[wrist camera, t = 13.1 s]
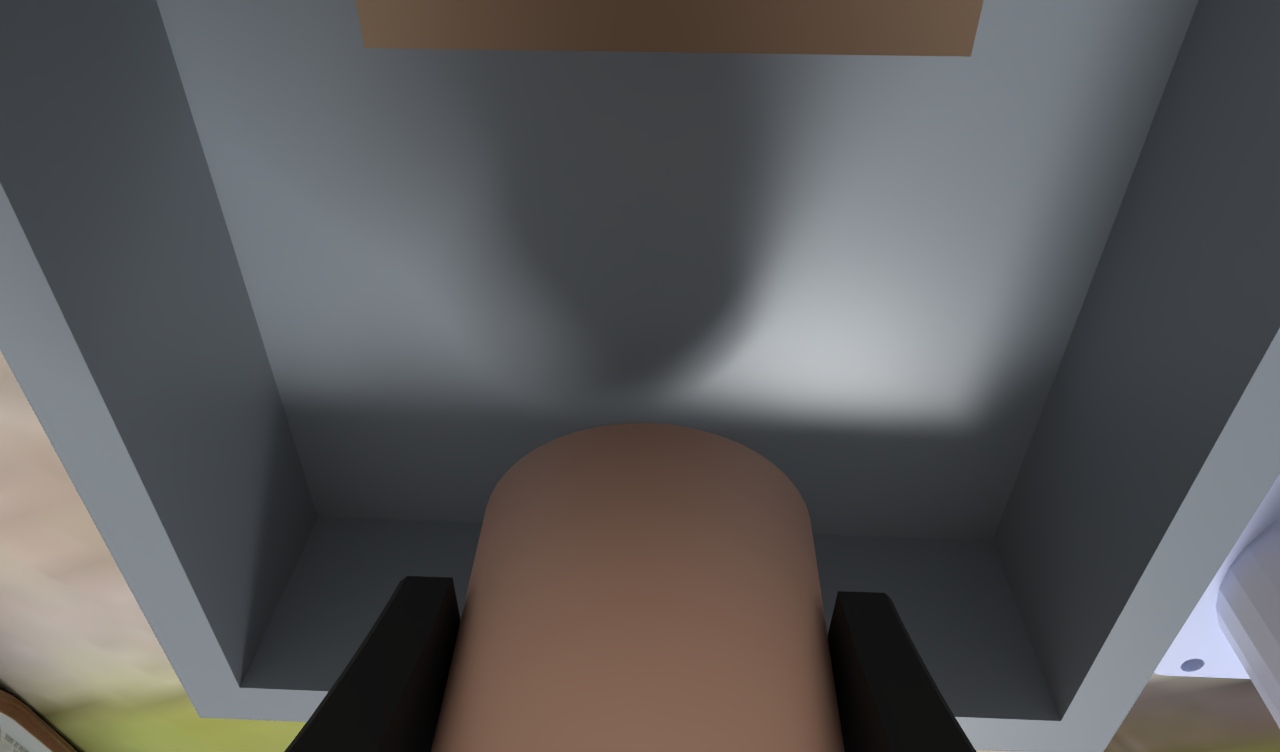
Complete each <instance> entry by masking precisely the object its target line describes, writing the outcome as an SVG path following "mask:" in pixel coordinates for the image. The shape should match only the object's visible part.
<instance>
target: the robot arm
mask: <svg viewBox="0 0 1280 752" xmlns="http://www.w3.org/2000/svg"><path fill="white" fill-rule="evenodd" d="M460 621H461V619H460V614H459V609H458V603H457V598H456V593H455V587H454V582H453V577H424V576H407V577H405V578H404V579H403V580H401V581H400V582H399V584H398V586H397V587H396V589H395V591H394V593H393V594H392V596H391V598H390V599H389V601H388V603H387V604H386V606H385V607H384V609H383V611H382V612H381V614H380V616H379V617H378V619H377V620H376V622H375V623H374V625H373V627H372V628H371V630H370V631H369V633H368V634H367V636H366V638H365V639H364V641H363V642H362V644H361V645H360V647H359V648H358V650H357V651H356V653H355V654H354V656H353V657H352V659H351V660H350V662H349V663H348V665H347V666H346V668H345V669H344V671H343V672H342V673H341V675H340V676H339V678H338V679H337V681H336V682H335V683H334V685H333V686H332V688H331V689H330V690H329V692H328V693H327V695H326V696H325V697H324V699H323V700H322V702H321V703H320V704H319V706H318V707H317V709H316V710H315V711H314V713H313V714H312V716H311V717H310V718H309V720H308V721H307V723H306V724H305V725H304V727H303V728H302V729H301V731H300V732H299V733H298V735H297V736H296V737H295V739H294V740H293V741H292V743H291V744H290V745H289V746H288V748H287V749H286V750H285V752H431V748H432V744H433V740H434V735H435V731H436V726H437V722H438V718H439V713H440V709H441V704H442V700H443V696H444V691H445V687H446V682H447V678H448V674H449V669H450V665H451V660H452V656H453V651H454V647H455V643H456V638H457V634H458V629H459V625H460ZM828 642H829V648H830V655H831V662H832V669H833V675H834V682H835V689H836V696H837V702H838V709H839V716H840V723H841V730H842V736H843V743H844V750H845V752H976V750H975V749H974V747H973V745H972V744H971V742H970V741H969V739H968V737H967V736H966V734H965V732H964V731H963V729H962V728H961V726H960V724H959V723H958V721H957V720H956V718H955V716H954V715H953V713H952V711H951V709H950V708H949V706H948V704H947V703H946V701H945V699H944V698H943V696H942V694H941V692H940V691H939V689H938V687H937V685H936V683H935V682H934V680H933V678H932V676H931V675H930V673H929V671H928V669H927V667H926V666H925V664H924V662H923V660H922V658H921V656H920V655H919V653H918V651H917V649H916V647H915V645H914V643H913V641H912V640H911V638H910V636H909V634H908V632H907V630H906V628H905V626H904V624H903V622H902V620H901V618H900V616H899V614H898V612H897V610H896V608H895V606H894V604H893V601H892V599H891V598H890V597H889V596H888V595H887V594H885V593H877V592H848V591H838V593H837V597H836V602H835V606H834V610H833V614H832V619H831V623H830V627H829V632H828ZM1154 673H1155V674H1159V675H1167V676H1193V677H1218V678H1244V679H1251V681H1252V682H1253V684H1254V686H1255V687H1256V689H1257V691H1258V693H1259V694H1260V696H1261V698H1262V699H1263V701H1264V703H1265V704H1266V706H1267V708H1268V709H1269V711H1270V713H1271V714H1272V716H1273V718H1274V719H1275V721H1276V723H1277V725H1278V726H1279V728H1280V474H1279V476H1278V477H1277V479H1276V480H1275V482H1274V484H1273V485H1272V487H1271V488H1270V490H1269V491H1268V493H1267V495H1266V496H1265V498H1264V499H1263V501H1262V503H1261V504H1260V506H1259V507H1258V509H1257V510H1256V512H1255V514H1254V515H1253V517H1252V518H1251V520H1250V521H1249V523H1248V525H1247V526H1246V528H1245V529H1244V531H1243V532H1242V534H1241V536H1240V537H1239V539H1238V540H1237V542H1236V543H1235V545H1234V547H1233V548H1232V550H1231V551H1230V553H1229V555H1228V556H1227V558H1226V559H1225V561H1224V562H1223V564H1222V566H1221V567H1220V569H1219V570H1218V572H1217V573H1216V575H1215V577H1214V578H1213V580H1212V581H1211V583H1210V584H1209V586H1208V588H1207V589H1206V591H1205V592H1204V594H1203V595H1202V597H1201V599H1200V600H1199V602H1198V603H1197V605H1196V607H1195V608H1194V610H1193V611H1192V613H1191V614H1190V616H1189V618H1188V619H1187V621H1186V622H1185V624H1184V625H1183V627H1182V629H1181V630H1180V632H1179V633H1178V635H1177V636H1176V638H1175V640H1174V641H1173V643H1172V644H1171V646H1170V647H1169V649H1168V651H1167V652H1166V654H1165V655H1164V657H1163V659H1162V660H1161V662H1160V663H1159V665H1158V666H1157V668H1156V670H1155V671H1154Z"/></svg>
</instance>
